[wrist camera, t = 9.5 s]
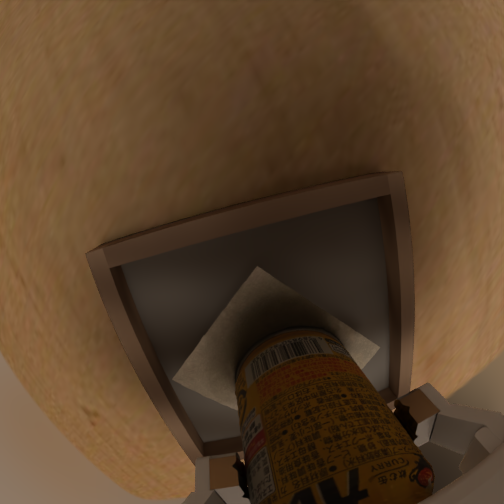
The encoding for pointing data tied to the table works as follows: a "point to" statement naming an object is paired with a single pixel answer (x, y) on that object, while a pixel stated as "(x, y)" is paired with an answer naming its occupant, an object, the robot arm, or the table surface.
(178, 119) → the table surface
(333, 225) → the square wooden tray
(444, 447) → the robot arm
